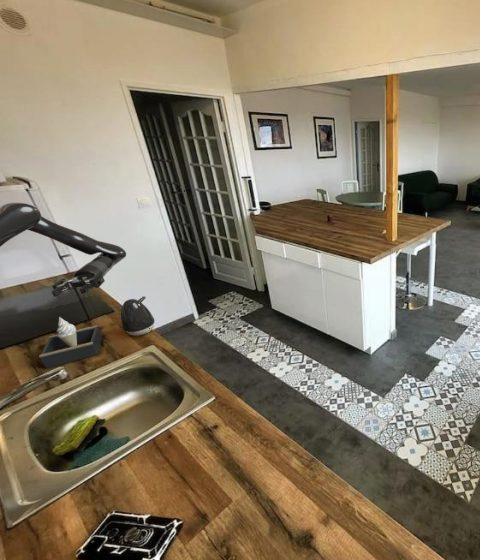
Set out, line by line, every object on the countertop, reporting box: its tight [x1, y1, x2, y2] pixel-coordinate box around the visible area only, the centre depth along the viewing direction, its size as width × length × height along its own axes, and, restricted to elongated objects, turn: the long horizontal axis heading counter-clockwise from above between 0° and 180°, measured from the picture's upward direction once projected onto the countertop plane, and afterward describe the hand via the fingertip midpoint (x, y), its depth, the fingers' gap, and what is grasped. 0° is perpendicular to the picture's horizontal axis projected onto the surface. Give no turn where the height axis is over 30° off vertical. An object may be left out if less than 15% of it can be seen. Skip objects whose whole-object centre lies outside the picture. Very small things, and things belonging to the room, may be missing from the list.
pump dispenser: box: [120, 296, 156, 337], centre depth 124 cm, size 10×10×15 cm
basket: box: [38, 325, 103, 369], centre depth 115 cm, size 14×14×5 cm
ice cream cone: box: [55, 316, 78, 347], centre depth 112 cm, size 5×5×15 cm
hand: (68, 293), depth 115 cm, fingers open, 8 cm apart
